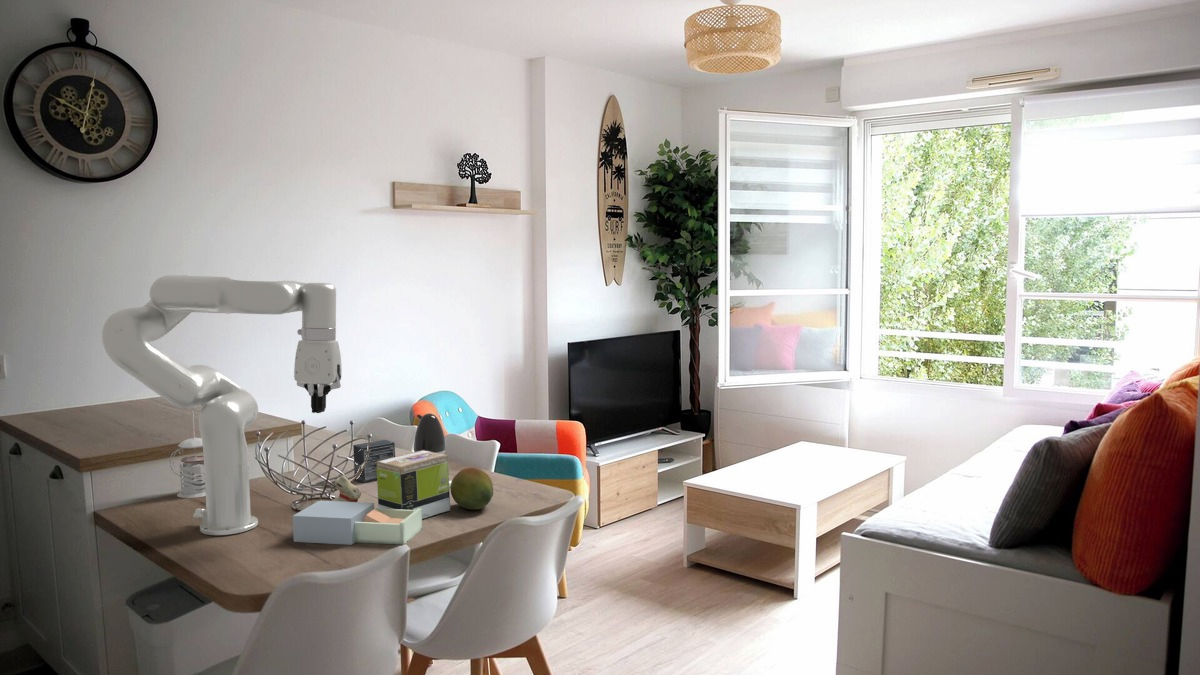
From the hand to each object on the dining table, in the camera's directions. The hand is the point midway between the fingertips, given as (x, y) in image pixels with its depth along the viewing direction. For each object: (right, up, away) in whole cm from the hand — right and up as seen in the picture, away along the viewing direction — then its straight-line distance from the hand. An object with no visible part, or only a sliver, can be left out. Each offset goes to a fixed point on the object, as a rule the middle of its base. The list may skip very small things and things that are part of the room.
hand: (318, 411), depth 193 cm
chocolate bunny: (+3, -27, +11) cm, 29 cm away
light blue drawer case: (+6, -28, -5) cm, 29 cm away
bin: (+18, -28, -5) cm, 34 cm away
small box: (+1, -24, +45) cm, 51 cm away
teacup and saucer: (+23, -25, +34) cm, 48 cm away
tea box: (+21, -27, +10) cm, 35 cm away
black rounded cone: (+13, -22, +67) cm, 71 cm away
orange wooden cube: (+15, -27, -6) cm, 31 cm away
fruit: (+35, -26, +16) cm, 46 cm away
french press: (-45, -25, +31) cm, 60 cm away
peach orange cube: (+21, -24, -8) cm, 33 cm away
